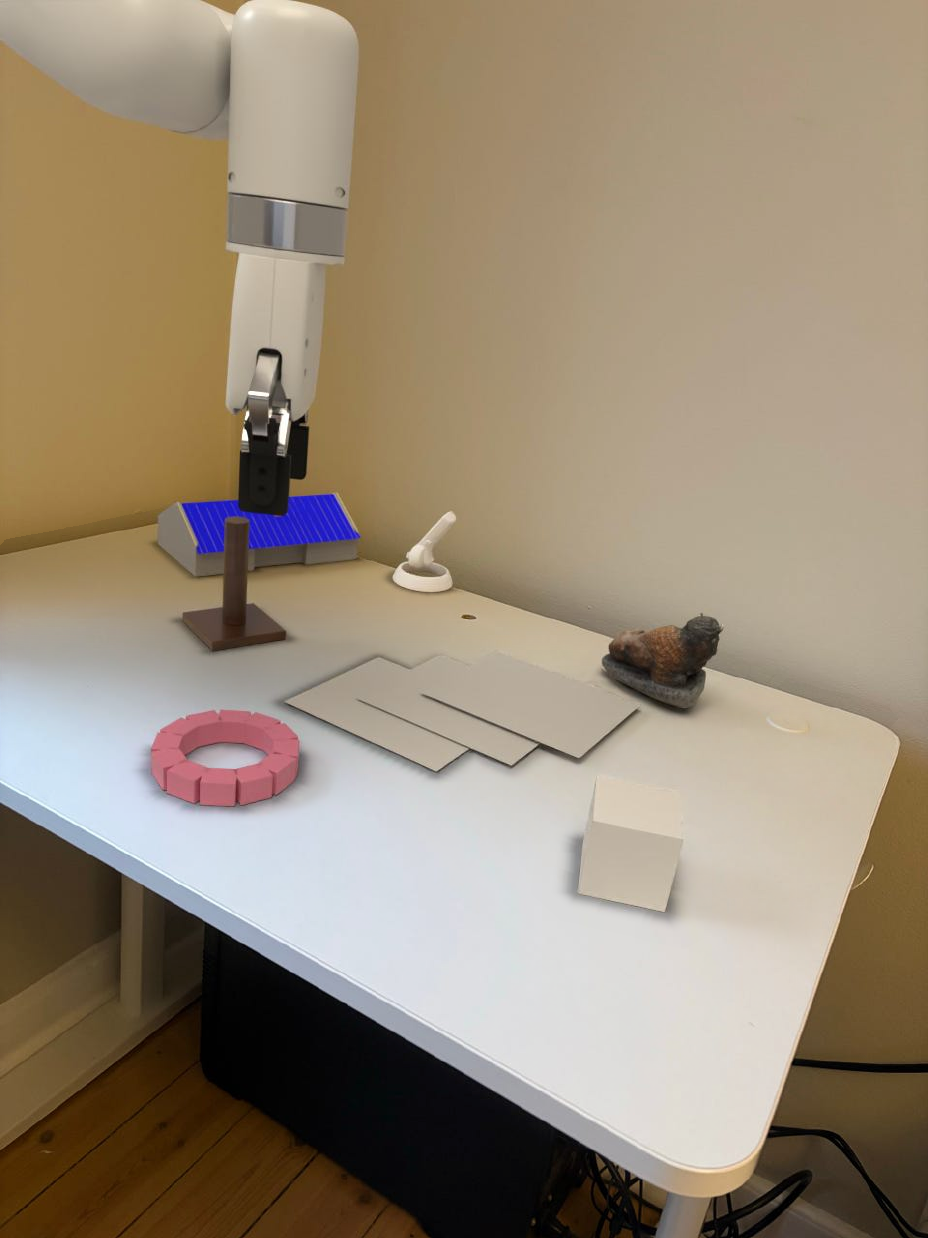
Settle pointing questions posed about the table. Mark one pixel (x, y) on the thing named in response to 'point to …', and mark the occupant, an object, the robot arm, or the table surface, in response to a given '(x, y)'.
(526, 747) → the paper stack
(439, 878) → the table surface
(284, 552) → the roof
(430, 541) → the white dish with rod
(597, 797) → the off-white cube
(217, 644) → the stand
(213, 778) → the ring
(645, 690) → the bison figurine
